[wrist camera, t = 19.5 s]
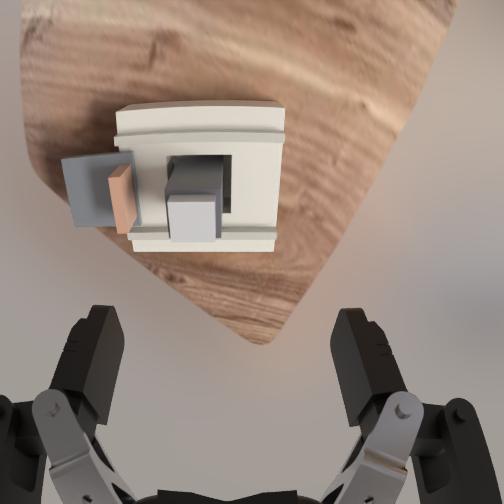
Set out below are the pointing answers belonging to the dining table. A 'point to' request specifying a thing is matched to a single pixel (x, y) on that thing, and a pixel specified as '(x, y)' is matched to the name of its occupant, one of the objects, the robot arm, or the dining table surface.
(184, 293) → the dining table surface
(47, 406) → the robot arm
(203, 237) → the plug
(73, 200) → the panel
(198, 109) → the socket
